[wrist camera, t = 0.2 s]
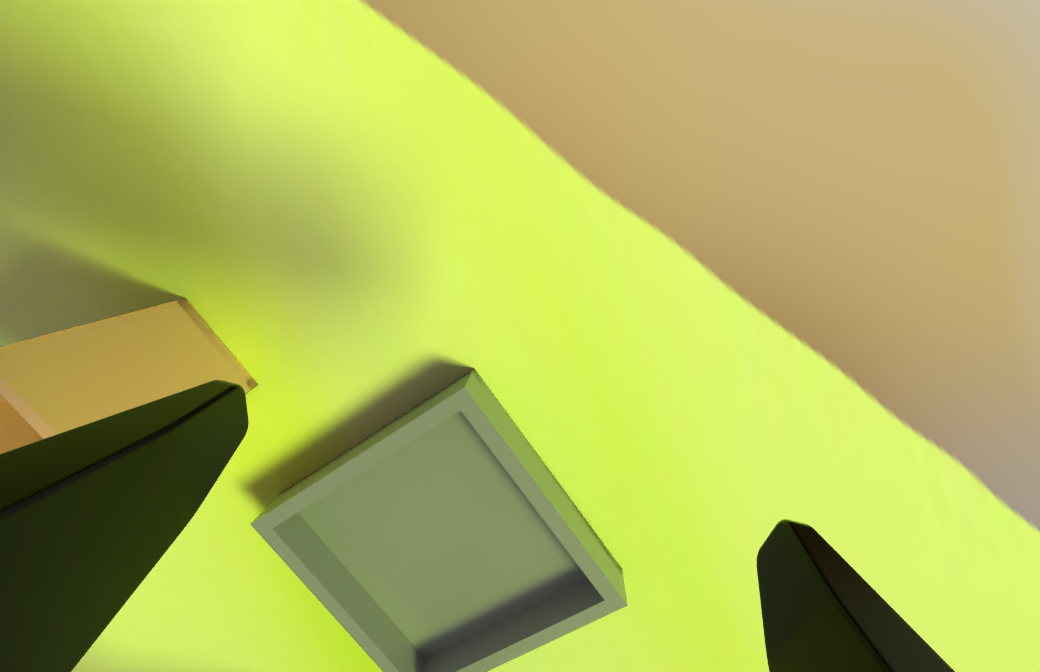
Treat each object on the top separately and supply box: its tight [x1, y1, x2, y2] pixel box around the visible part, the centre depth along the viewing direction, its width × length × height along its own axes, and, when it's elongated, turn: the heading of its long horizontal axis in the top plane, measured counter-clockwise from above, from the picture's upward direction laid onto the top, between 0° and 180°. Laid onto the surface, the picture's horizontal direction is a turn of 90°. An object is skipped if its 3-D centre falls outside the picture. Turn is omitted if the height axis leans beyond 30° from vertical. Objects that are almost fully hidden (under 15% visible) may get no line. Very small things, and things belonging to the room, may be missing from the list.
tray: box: [251, 369, 627, 672], centre depth 26 cm, size 14×14×2 cm
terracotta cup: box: [0, 298, 258, 454], centre depth 21 cm, size 6×6×9 cm
